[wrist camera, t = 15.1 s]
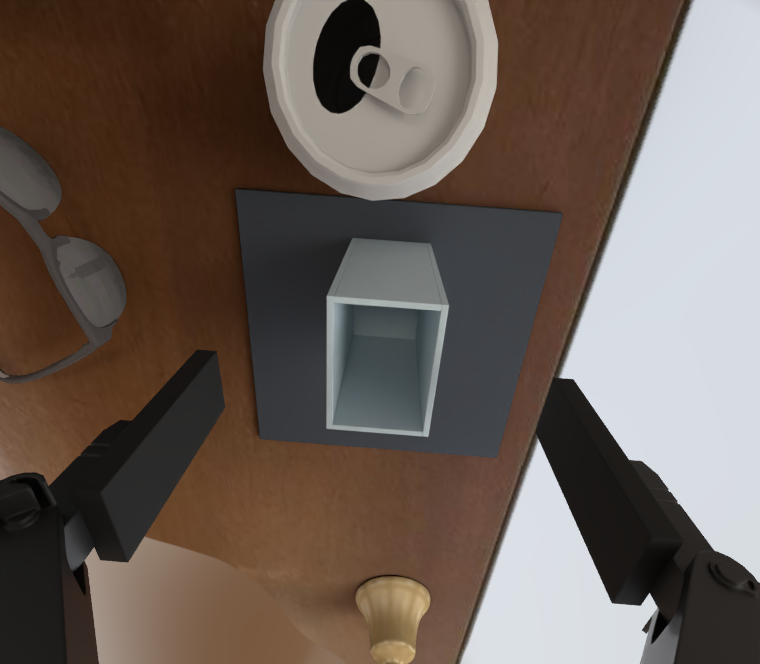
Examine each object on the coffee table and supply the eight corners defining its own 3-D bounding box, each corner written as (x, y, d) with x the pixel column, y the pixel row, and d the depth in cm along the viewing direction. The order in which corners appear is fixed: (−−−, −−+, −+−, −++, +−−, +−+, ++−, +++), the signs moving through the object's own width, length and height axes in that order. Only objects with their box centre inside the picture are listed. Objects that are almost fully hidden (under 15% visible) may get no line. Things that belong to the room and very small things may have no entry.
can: (346, -11, 19) (283, -188, 9) (480, 56, 20) (569, -30, 10) (303, 143, 23) (219, 152, 12) (420, 194, 24) (439, 244, 13)
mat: (237, 188, 24) (234, 188, 24) (560, 212, 24) (563, 213, 23) (261, 436, 33) (259, 439, 33) (495, 454, 33) (496, 458, 33)
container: (430, 243, 25) (449, 305, 16) (418, 340, 28) (428, 437, 19) (352, 237, 25) (326, 295, 16) (349, 334, 28) (326, 428, 19)
